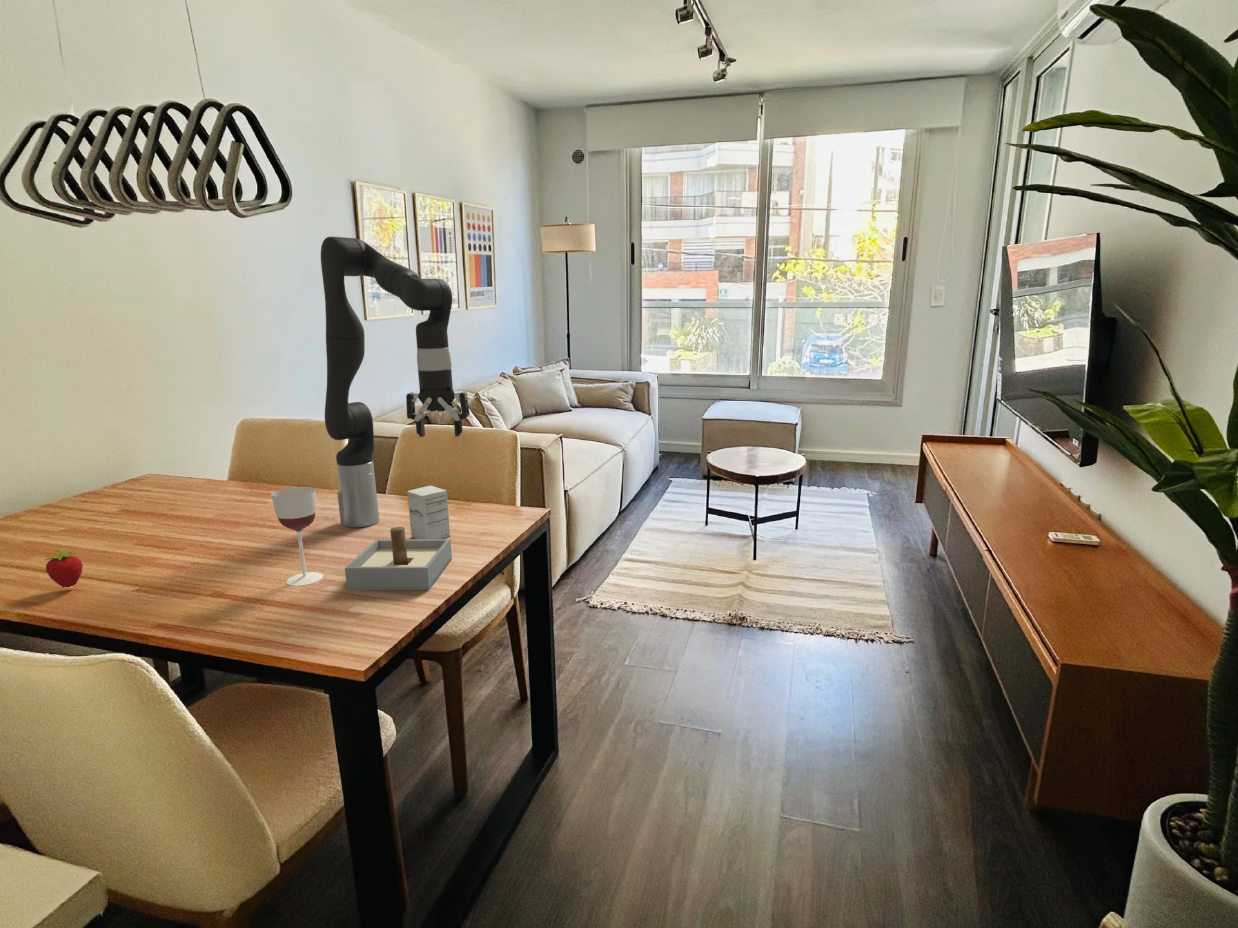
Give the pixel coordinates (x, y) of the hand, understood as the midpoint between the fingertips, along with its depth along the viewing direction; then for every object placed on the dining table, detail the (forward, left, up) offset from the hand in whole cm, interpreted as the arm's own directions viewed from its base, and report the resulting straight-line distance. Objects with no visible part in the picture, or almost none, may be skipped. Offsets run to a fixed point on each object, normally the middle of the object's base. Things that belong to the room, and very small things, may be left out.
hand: (440, 436), depth 164 cm
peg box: (-6, -17, -28) cm, 33 cm away
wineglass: (-27, -19, -28) cm, 43 cm away
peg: (-6, -17, -28) cm, 33 cm away
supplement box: (-7, +8, -28) cm, 30 cm away
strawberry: (-76, -25, -28) cm, 85 cm away
